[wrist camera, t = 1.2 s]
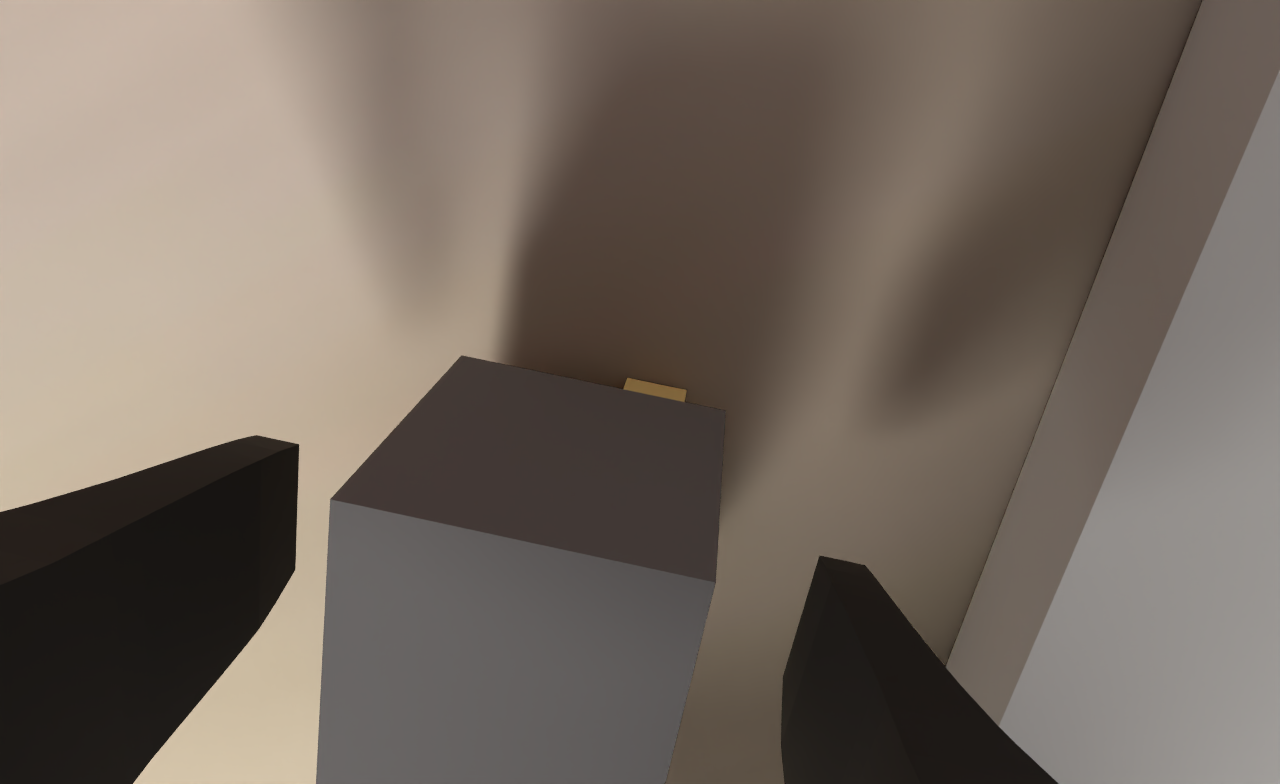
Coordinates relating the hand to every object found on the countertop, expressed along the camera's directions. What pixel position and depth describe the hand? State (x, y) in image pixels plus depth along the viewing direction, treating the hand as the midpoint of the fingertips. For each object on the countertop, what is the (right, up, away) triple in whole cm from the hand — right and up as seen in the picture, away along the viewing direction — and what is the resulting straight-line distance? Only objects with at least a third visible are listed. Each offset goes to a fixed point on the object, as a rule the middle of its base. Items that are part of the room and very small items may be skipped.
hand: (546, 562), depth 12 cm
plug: (0, +1, +3) cm, 4 cm away
